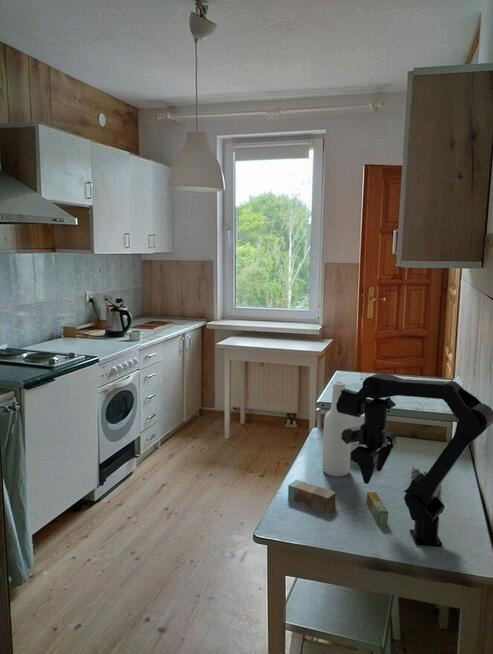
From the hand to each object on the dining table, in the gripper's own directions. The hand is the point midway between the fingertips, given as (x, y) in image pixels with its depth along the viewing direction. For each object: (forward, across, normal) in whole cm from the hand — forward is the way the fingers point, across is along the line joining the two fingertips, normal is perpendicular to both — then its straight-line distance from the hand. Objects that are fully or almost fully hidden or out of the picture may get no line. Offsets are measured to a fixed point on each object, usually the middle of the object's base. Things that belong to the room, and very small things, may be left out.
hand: (372, 476), depth 136 cm
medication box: (+12, -3, 0) cm, 13 cm away
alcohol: (+12, -22, -20) cm, 32 cm away
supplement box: (+12, -41, -22) cm, 49 cm away
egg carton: (+12, -28, +6) cm, 31 cm away
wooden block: (+10, +2, -11) cm, 15 cm away
